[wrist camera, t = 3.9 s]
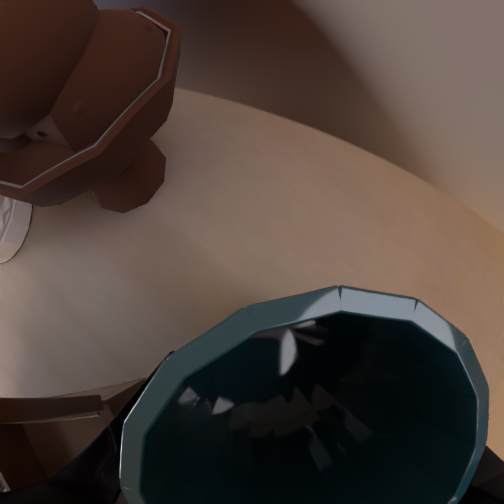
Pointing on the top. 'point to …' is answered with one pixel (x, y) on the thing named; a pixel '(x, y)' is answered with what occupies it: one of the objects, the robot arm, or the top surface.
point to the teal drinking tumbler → (312, 408)
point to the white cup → (12, 226)
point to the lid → (47, 407)
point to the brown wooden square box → (56, 438)
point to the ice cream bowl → (83, 101)
